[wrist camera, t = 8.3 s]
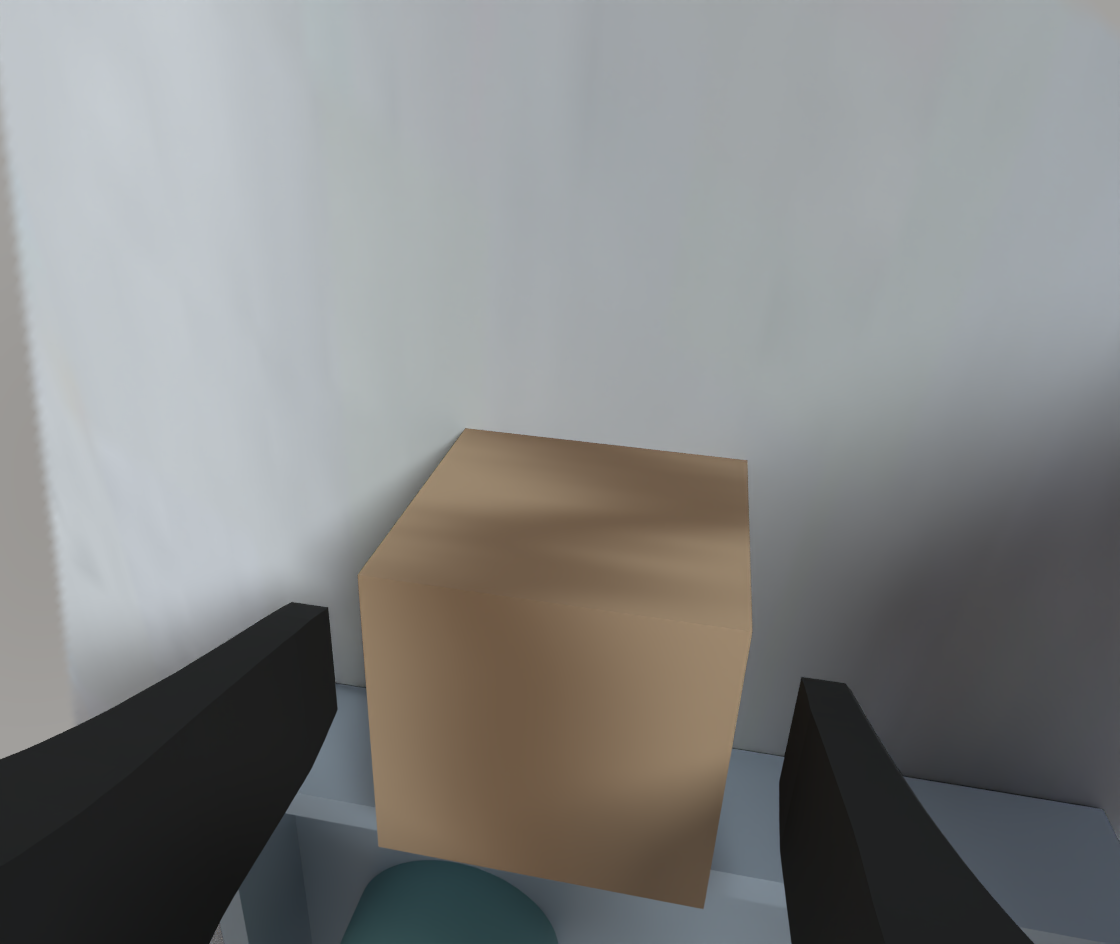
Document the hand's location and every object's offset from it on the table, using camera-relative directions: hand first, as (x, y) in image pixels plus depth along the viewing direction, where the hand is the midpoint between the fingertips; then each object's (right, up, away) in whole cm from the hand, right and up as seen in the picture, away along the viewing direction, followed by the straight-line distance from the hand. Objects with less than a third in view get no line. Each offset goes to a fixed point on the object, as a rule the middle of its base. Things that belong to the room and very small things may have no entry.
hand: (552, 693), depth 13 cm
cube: (+1, +2, +3) cm, 4 cm away
